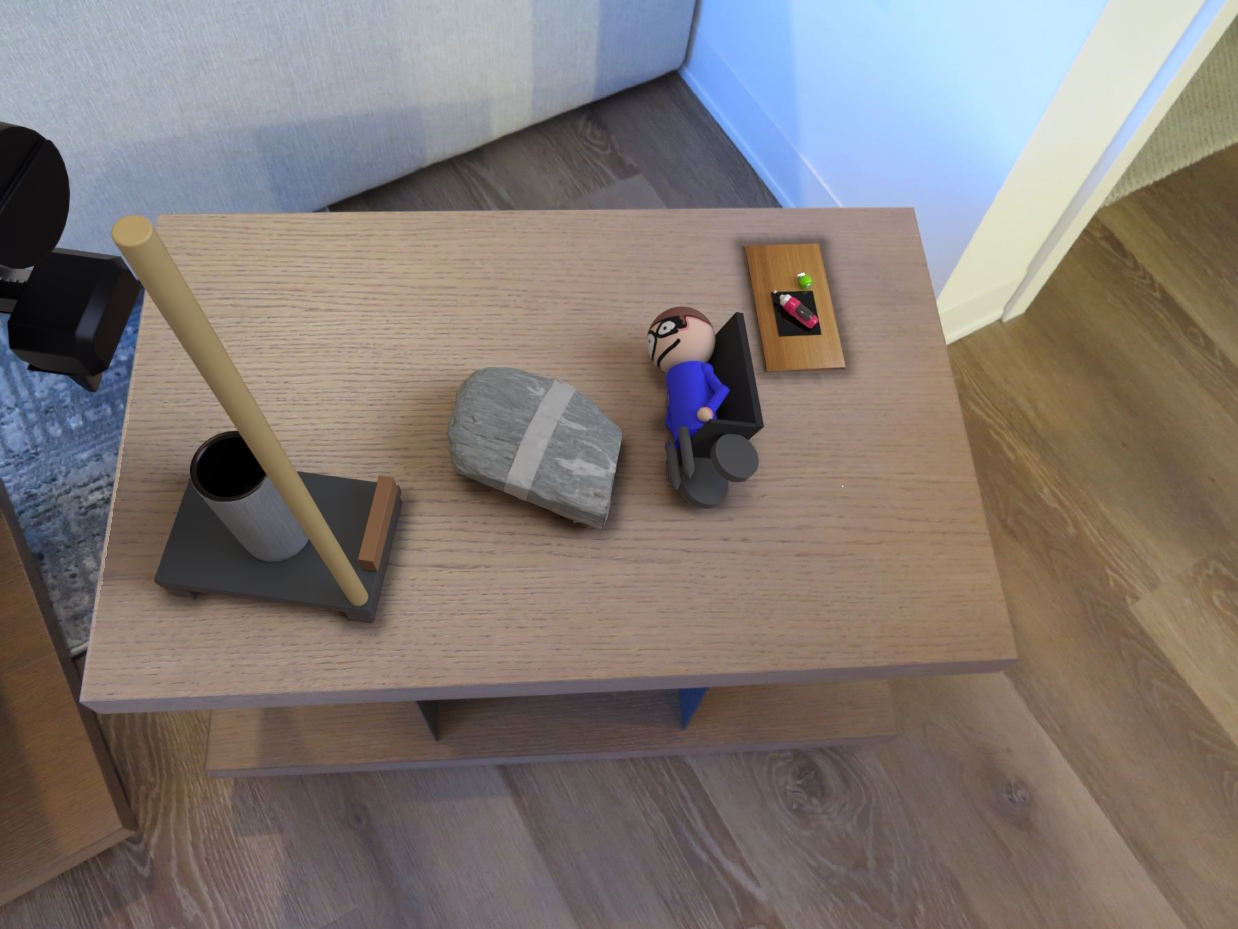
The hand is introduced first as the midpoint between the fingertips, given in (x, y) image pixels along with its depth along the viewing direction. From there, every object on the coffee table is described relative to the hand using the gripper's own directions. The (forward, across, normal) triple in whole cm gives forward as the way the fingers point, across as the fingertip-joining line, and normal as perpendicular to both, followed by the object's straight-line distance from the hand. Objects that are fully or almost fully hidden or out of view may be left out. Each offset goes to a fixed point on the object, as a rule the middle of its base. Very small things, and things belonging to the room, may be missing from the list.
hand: (18, 374), depth 56 cm
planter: (+10, +14, -4) cm, 18 cm away
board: (+13, +48, +22) cm, 54 cm away
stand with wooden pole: (+13, +14, -4) cm, 20 cm away
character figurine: (+13, +41, +10) cm, 44 cm away
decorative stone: (+13, +30, +5) cm, 33 cm away
